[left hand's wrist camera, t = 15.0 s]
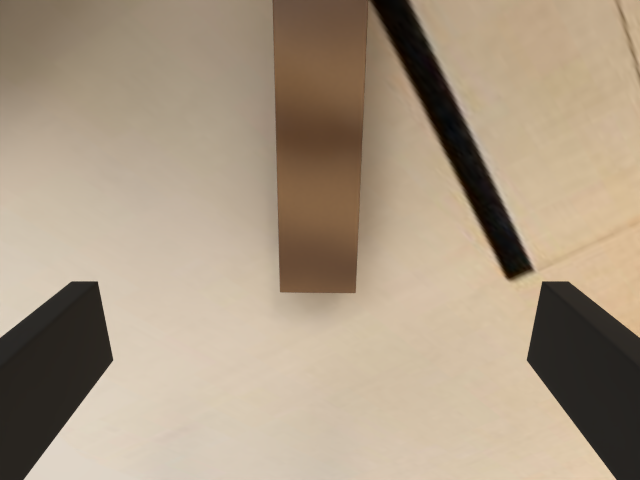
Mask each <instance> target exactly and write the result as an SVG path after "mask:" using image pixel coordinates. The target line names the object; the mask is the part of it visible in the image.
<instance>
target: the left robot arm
mask: <svg viewBox="0 0 640 480" xmlns="http://www.w3.org/2000/svg"><path fill="white" fill-rule="evenodd" d="M112 361H113V357H112V352H111V347H110V341H109V336H108V331H107V326H106V321H105V316H104V311H103V306H102V301H101V296H100V291H99V286H98V282H70V283H69V284H68V285H67V286H65V287H64V288H63V289H62V290H60V291H59V292H58V293H57V294H55V295H54V296H53V297H51V298H50V299H49V300H48V301H46V302H45V303H44V304H43V305H41V306H40V307H39V308H38V309H36V310H35V311H34V312H33V313H31V314H30V315H29V316H27V317H26V318H25V319H24V320H22V321H21V322H20V323H19V324H17V325H16V326H15V327H14V328H12V329H11V330H10V331H8V332H7V333H6V334H5V335H3V336H2V337H1V338H0V480H24V478H25V477H26V476H27V474H28V473H29V472H30V470H31V469H32V468H33V466H34V465H35V464H36V462H37V461H38V460H39V458H40V457H41V456H42V454H43V453H44V452H45V450H46V449H47V448H48V446H49V445H50V444H51V442H52V441H53V440H54V438H55V437H56V436H57V434H58V433H59V432H60V430H61V429H62V428H63V426H64V425H65V424H66V422H67V421H68V420H69V418H70V417H71V416H72V414H73V413H74V412H75V410H76V409H77V408H78V406H79V405H80V404H81V402H82V401H83V400H84V398H85V397H86V396H87V394H88V393H89V392H90V390H91V389H92V388H93V386H94V385H95V384H96V382H97V381H98V380H99V378H100V377H101V376H102V374H103V373H104V372H105V371H106V369H107V368H108V367H109V365H110V364H111V363H112ZM527 361H528V363H529V364H530V365H531V367H532V368H533V369H534V371H535V372H536V373H537V374H538V376H539V377H540V378H541V380H542V381H543V382H544V384H545V385H546V386H547V388H548V389H549V390H550V392H551V393H552V394H553V396H554V397H555V398H556V400H557V401H558V402H559V404H560V405H561V406H562V408H563V409H564V410H565V412H566V413H567V414H568V416H569V417H570V418H571V420H572V421H573V422H574V424H575V425H576V426H577V428H578V429H579V430H580V432H581V433H582V434H583V436H584V437H585V438H586V440H587V441H588V442H589V444H590V445H591V446H592V448H593V449H594V450H595V452H596V453H597V454H598V456H599V457H600V458H601V460H602V461H603V462H604V464H605V465H606V466H607V468H608V469H609V470H610V472H611V473H612V474H613V476H614V477H615V478H616V480H640V338H639V337H638V336H637V335H635V334H634V333H633V332H632V331H630V330H629V329H628V328H626V327H625V326H624V325H623V324H621V323H620V322H619V321H618V320H616V319H615V318H614V317H613V316H611V315H610V314H609V313H607V312H606V311H605V310H604V309H602V308H601V307H600V306H599V305H597V304H596V303H595V302H594V301H592V300H591V299H590V298H589V297H587V296H586V295H585V294H583V293H582V292H581V291H580V290H578V289H577V288H576V287H575V286H573V285H572V284H571V283H570V282H542V286H541V291H540V296H539V301H538V306H537V311H536V316H535V321H534V326H533V331H532V336H531V341H530V347H529V352H528V357H527Z"/></svg>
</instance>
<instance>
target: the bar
mask: <svg viewBox="0 0 640 480" xmlns="http://www.w3.org/2000/svg"><path fill="white" fill-rule="evenodd" d="M367 15H368V0H273V29H274V69H275V109H276V149H277V189H278V230H279V270H280V292H301V293H355V292H356V271H357V248H358V225H359V202H360V178H361V155H362V132H363V109H364V85H365V62H366V39H367Z"/></svg>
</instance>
